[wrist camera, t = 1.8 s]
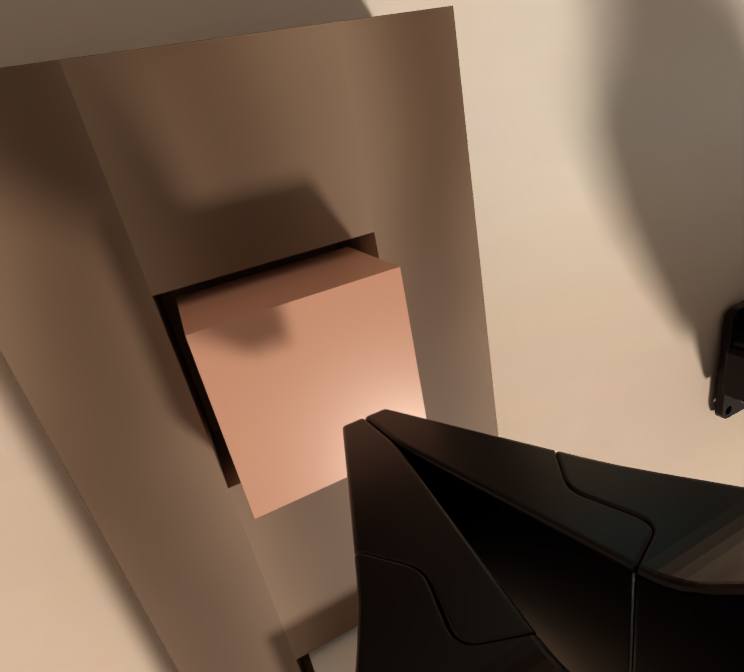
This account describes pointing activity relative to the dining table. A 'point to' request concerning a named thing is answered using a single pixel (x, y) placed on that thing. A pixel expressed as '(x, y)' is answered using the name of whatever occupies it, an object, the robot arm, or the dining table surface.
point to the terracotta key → (302, 366)
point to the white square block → (336, 654)
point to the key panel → (220, 265)
